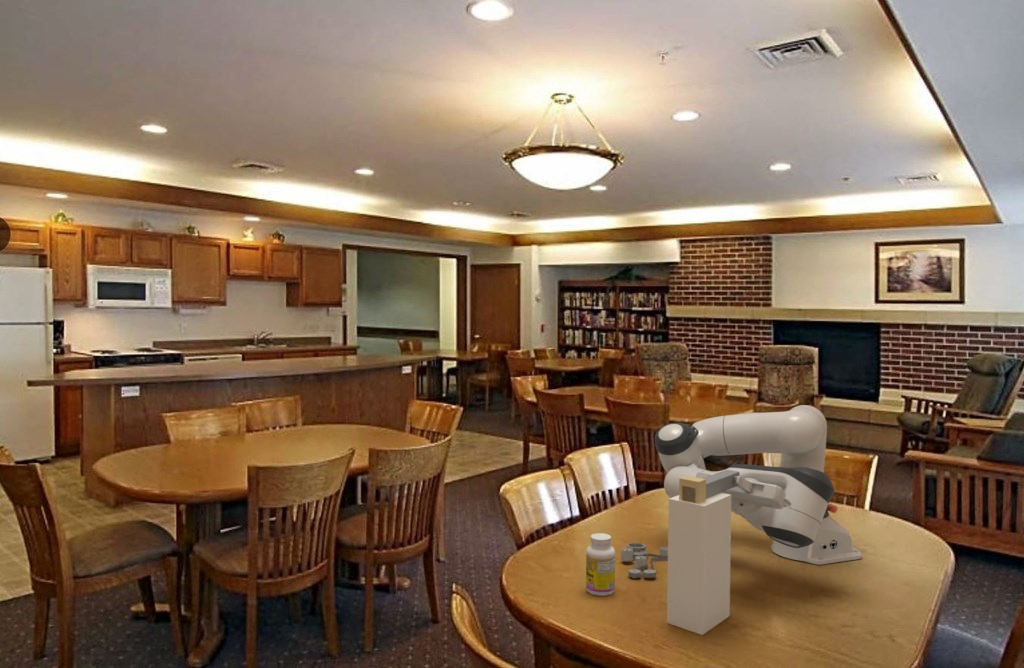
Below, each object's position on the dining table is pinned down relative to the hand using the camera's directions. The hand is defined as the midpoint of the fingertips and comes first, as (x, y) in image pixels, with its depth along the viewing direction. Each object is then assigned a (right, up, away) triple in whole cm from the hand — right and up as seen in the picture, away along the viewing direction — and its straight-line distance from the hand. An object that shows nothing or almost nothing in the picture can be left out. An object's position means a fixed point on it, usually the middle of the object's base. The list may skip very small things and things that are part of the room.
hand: (726, 477), depth 156 cm
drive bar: (-5, -2, -5) cm, 7 cm away
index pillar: (-8, -28, -8) cm, 30 cm away
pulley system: (-11, -28, +26) cm, 40 cm away
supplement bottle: (-27, -28, +7) cm, 39 cm away
